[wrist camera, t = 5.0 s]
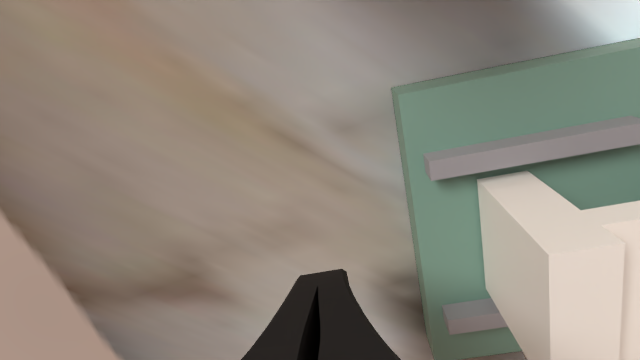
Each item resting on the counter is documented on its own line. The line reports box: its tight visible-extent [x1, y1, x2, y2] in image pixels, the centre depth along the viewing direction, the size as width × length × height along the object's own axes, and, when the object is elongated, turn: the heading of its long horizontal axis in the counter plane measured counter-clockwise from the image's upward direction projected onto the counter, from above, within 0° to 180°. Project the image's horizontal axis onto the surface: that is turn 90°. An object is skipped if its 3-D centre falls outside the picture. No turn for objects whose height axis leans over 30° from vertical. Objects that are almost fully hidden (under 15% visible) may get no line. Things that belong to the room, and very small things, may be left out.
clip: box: [477, 171, 640, 360], centre depth 11 cm, size 4×4×4 cm
